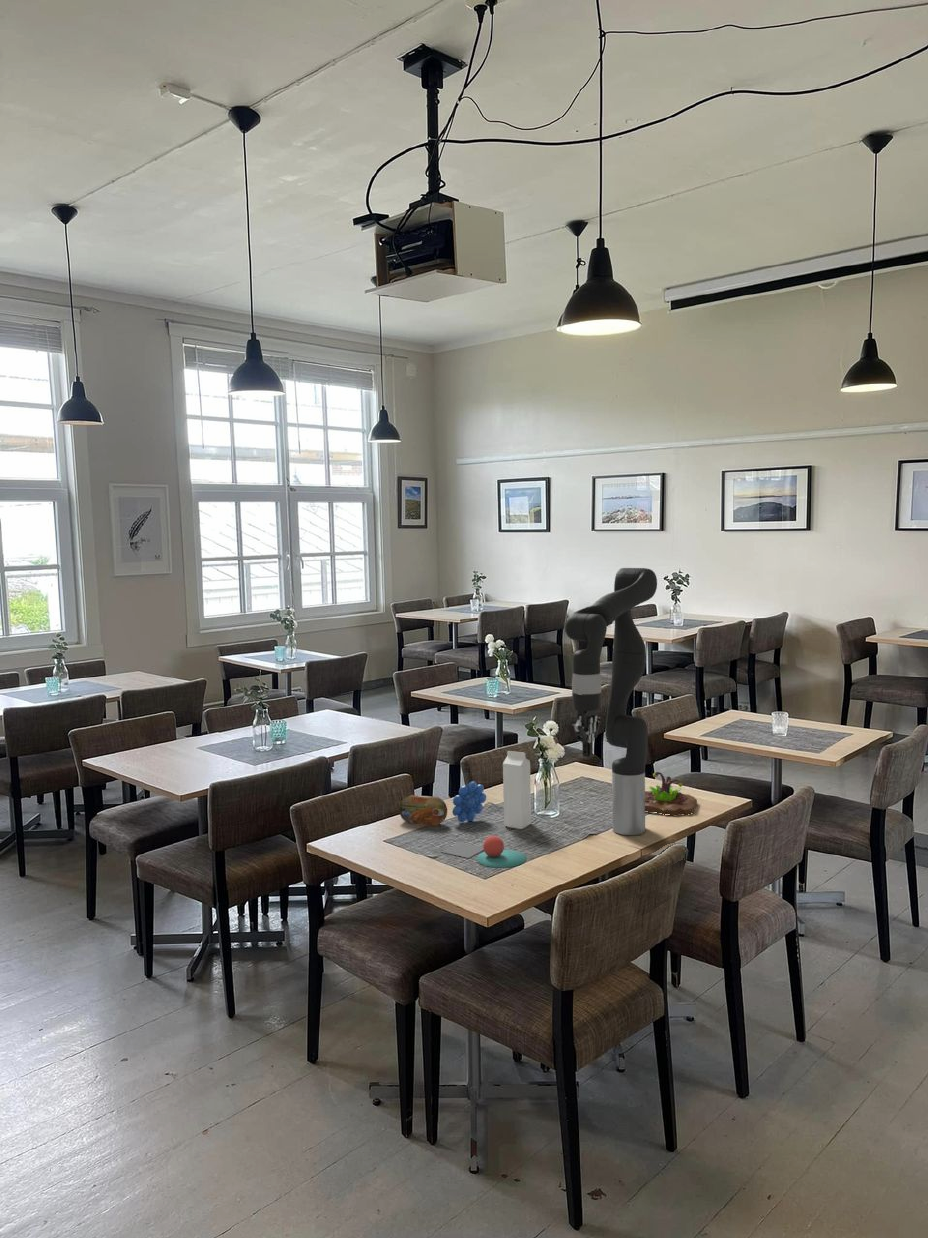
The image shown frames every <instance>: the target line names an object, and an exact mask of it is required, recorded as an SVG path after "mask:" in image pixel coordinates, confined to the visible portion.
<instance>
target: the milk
mask: <svg viewBox="0 0 928 1238" xmlns="http://www.w3.org/2000/svg"><path fill="white" fill-rule="evenodd" d="M506 752H507V753H506V754H507V756H506V757H505V759H504V760H503V762H502V777H503V778H502V782H503V783H502V784H503V786H502V787H503V790H502V791H503V826H504V827H506V826H507V828H513V829H519V830H523V829H524V828H527V827H528V826H530V825H531V824H532V801H531V800H532V796H531V795H532V791H531V789H532V787H531V761H530V760H529V759H528V758H527V757H526V753H525V752H522V751H512V750H508V751H506Z"/></svg>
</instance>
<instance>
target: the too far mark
mask: <svg viewBox="0 0 928 1238" xmlns="http://www.w3.org/2000/svg"><path fill="white" fill-rule="evenodd" d="M483 852H484V849H483V846H481V845H476V844H470V843H468V842H467V843H466V842H462V841H460V842H458V843H456V844H454V845H451V846H450V847H447V848H446V849H444V850H442V851H441V852H440V853H442V854H447V855H451V856H455V855H456V857H459V856H461V857H460V858H464V857H465V858H464V859H468V858H469V859H470V858H472V857H474V856H476V855H479V854H481V853H483Z"/></svg>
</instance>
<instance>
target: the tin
mask: <svg viewBox="0 0 928 1238" xmlns="http://www.w3.org/2000/svg"><path fill="white" fill-rule="evenodd" d="M398 812H399V815H400V817H401V820H403V821H404V822H405V823H407V824H410V825H420V826H430V827H431V826H433V827H435V826H438V825H440V824H442V823H443V822H444V821H445V820H446V818H447V816H448V806H447V804H446V802H445V801H444V800H443V799H442V798H440V797H438V796H430V795H429V796H428V795H416V794H413V795H411V794H410V795H409V796H405V797H404V798H402V800H401V801H400V803H399V806H398Z"/></svg>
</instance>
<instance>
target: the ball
mask: <svg viewBox="0 0 928 1238" xmlns="http://www.w3.org/2000/svg"><path fill="white" fill-rule="evenodd" d="M482 844H483V845H482V847H483V849H484V851H483V852H485V853H486V854H487V855H488V856H490V857H497V856H499V855H501V853H502V852H503V850H504V848H505V844H504V842H503V840H502V838H500V837H499V836H497V835H491V836H488V837H487V838H486V839H485V840H484V842H483V843H482Z"/></svg>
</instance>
